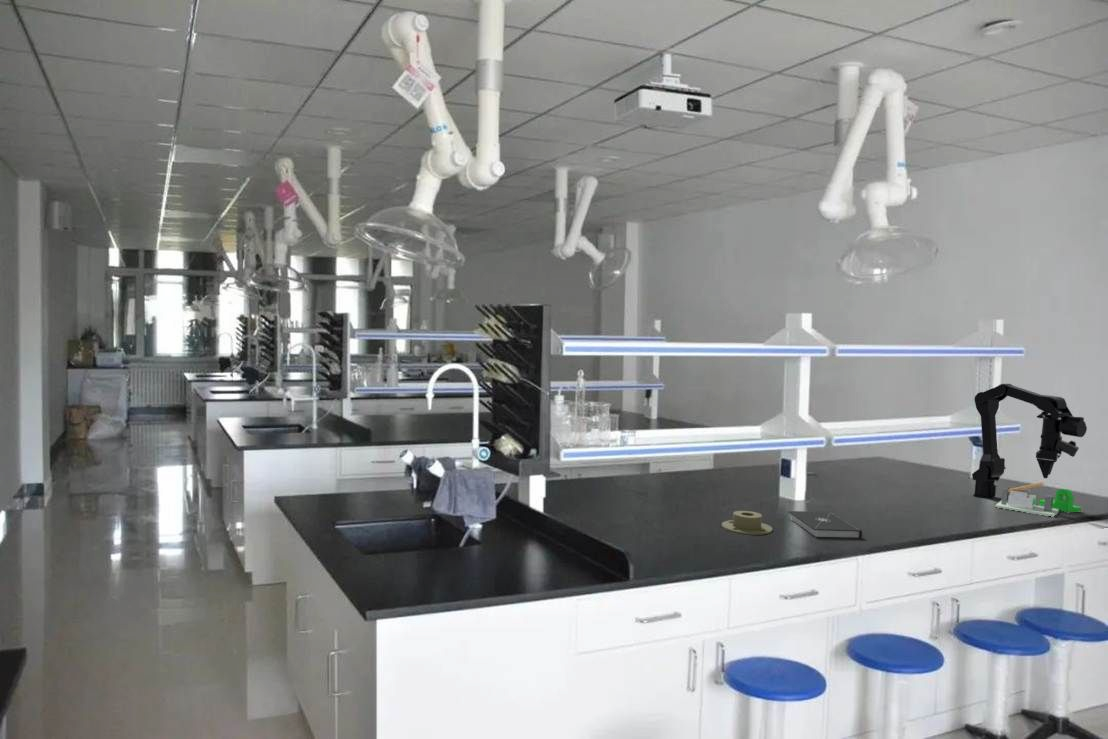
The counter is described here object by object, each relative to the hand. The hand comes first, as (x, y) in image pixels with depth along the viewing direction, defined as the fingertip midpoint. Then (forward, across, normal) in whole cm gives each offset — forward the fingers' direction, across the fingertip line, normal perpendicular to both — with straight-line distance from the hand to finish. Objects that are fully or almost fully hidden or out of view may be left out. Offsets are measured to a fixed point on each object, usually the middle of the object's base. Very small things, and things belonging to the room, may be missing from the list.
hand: (1046, 476), depth 289 cm
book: (+13, -83, +50) cm, 98 cm away
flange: (+13, -100, +68) cm, 122 cm away
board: (+12, -3, +5) cm, 14 cm away
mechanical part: (+13, +9, -4) cm, 16 cm away
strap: (+5, -3, +6) cm, 9 cm away
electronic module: (+11, -3, +5) cm, 13 cm away
